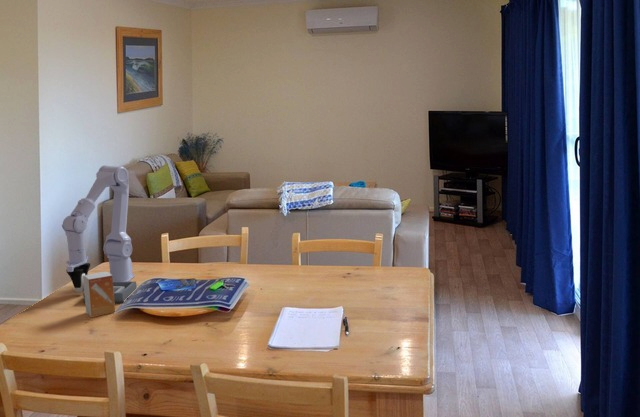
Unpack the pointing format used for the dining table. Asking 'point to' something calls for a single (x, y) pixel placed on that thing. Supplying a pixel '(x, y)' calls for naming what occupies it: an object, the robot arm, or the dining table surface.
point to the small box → (99, 294)
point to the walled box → (121, 290)
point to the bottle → (81, 285)
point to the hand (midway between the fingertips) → (80, 285)
